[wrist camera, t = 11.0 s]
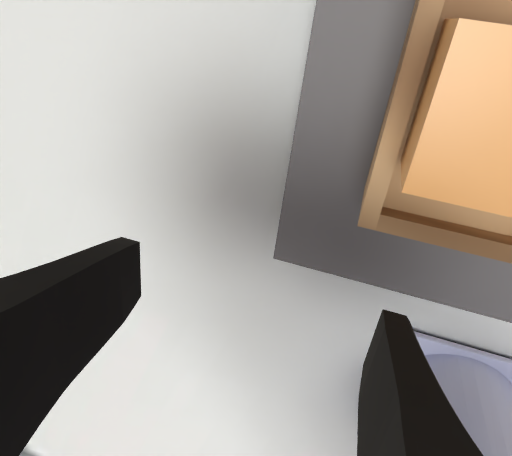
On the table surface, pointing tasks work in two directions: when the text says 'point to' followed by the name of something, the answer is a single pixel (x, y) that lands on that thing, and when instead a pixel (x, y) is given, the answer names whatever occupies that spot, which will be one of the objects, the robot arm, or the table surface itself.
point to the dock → (365, 169)
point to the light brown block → (464, 120)
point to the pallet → (395, 135)
